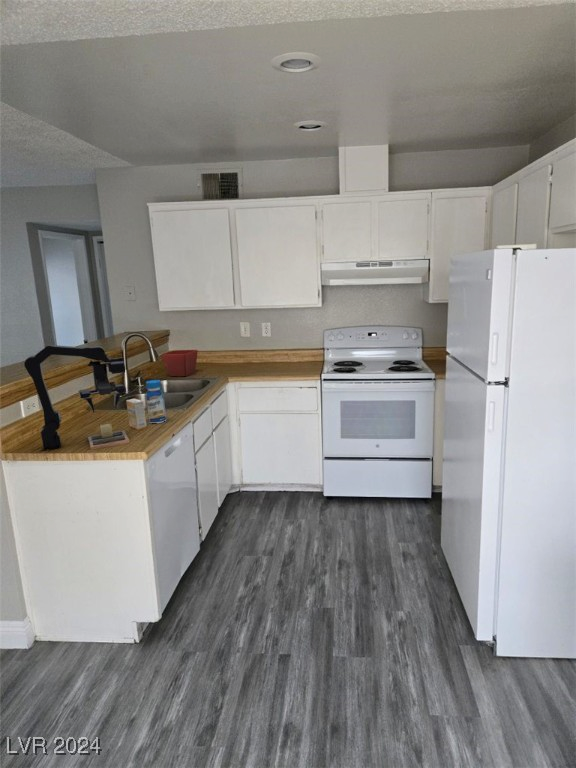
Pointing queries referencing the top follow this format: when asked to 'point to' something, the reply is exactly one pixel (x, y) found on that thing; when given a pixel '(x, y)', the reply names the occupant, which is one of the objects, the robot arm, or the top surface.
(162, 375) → the top surface
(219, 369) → the top surface
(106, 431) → the pale yellow block
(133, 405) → the supplement box
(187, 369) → the plant pot
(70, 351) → the robot arm
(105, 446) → the rail frame
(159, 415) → the beverage bottle
